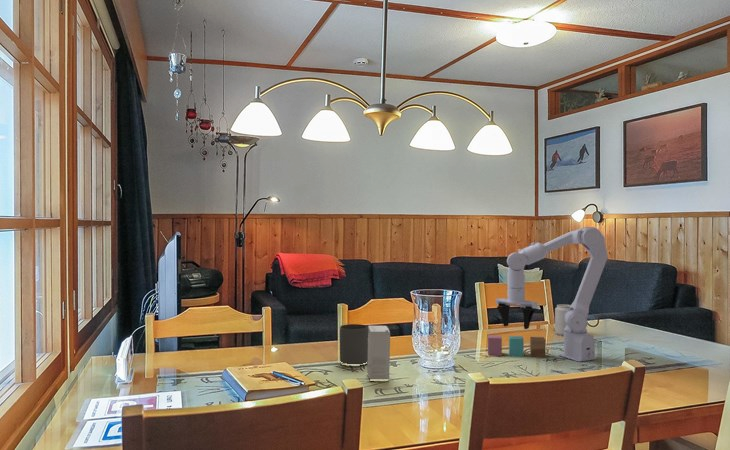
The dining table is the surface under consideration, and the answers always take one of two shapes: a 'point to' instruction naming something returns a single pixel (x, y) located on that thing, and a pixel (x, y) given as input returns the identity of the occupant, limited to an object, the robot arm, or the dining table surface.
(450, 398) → the dining table surface
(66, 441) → the dining table surface
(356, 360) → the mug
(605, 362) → the dining table surface
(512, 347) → the teal block
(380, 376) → the skincare box
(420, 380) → the dining table surface
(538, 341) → the walnut block
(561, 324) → the can
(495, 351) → the plum block
